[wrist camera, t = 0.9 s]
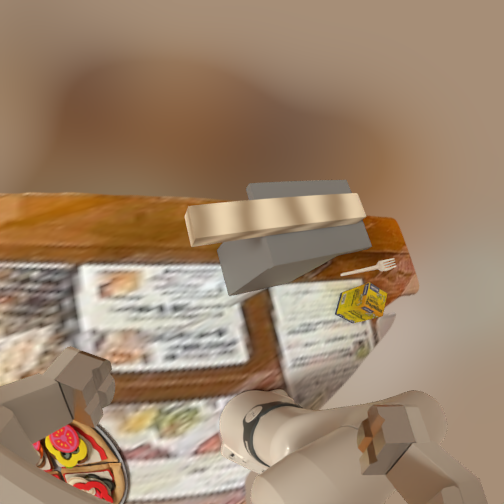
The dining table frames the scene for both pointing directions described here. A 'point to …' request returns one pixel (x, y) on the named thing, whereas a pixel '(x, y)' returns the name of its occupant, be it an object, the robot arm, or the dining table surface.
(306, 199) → the birch bar
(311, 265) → the charcoal stand
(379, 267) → the fork
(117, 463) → the toy pizza
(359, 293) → the supplement box
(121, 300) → the dining table surface
